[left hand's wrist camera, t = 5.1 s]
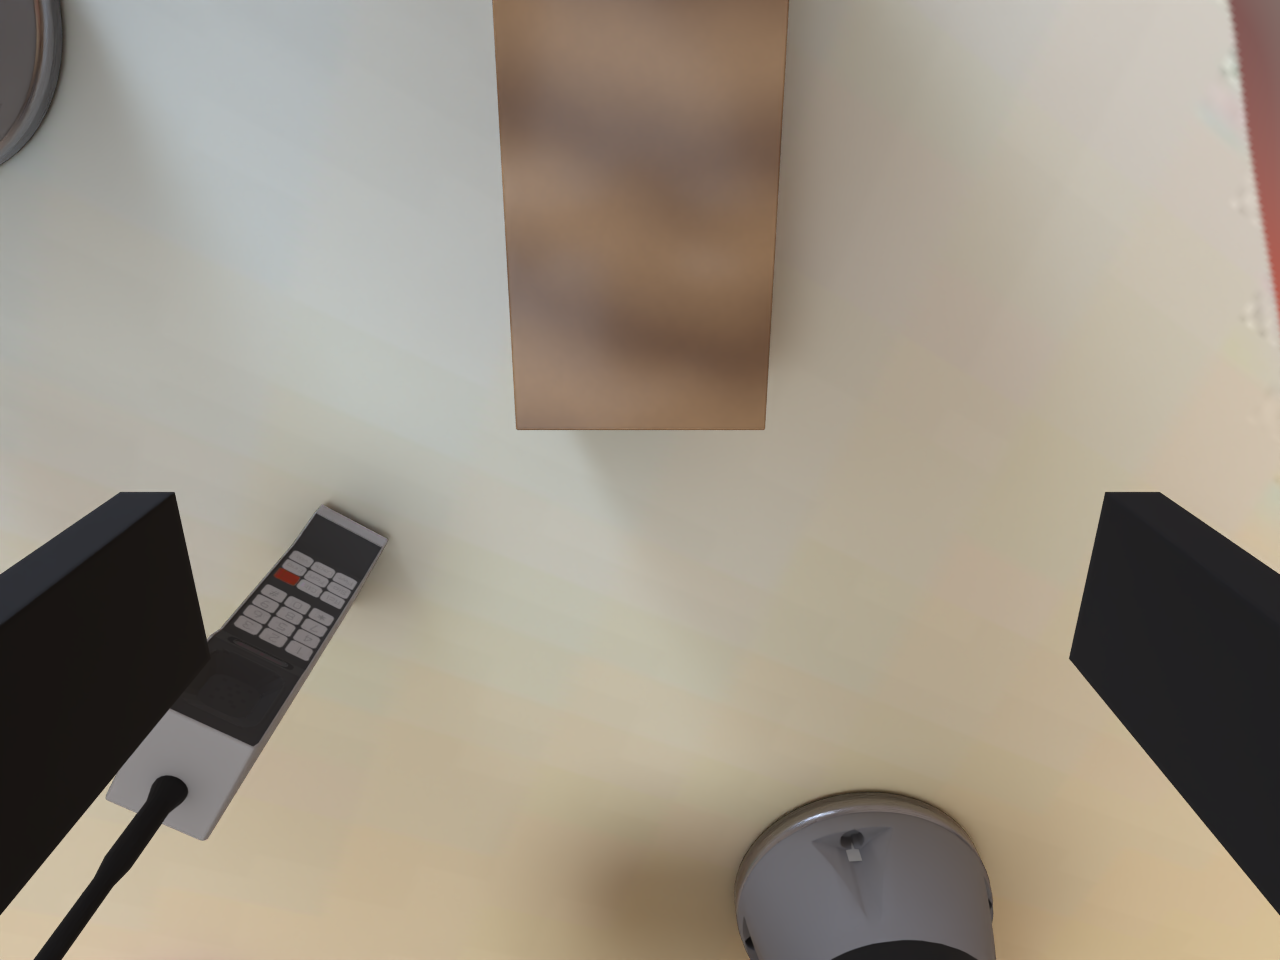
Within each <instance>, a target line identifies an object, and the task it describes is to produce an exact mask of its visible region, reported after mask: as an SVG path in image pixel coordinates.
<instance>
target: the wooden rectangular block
mask: <svg viewBox="0 0 1280 960" xmlns="http://www.w3.org/2000/svg"><path fill="white" fill-rule="evenodd" d="M492 3H493V21H494V39H495V57H496V75H497V93H498V111H499V129H500V147H501V165H502V183H503V201H504V219H505V237H506V255H507V273H508V291H509V309H510V327H511V345H512V363H513V381H514V399H515V417H516V429H517V430H764V429H765V420H766V402H767V384H768V366H769V348H770V331H771V313H772V295H773V277H774V259H775V242H776V224H777V206H778V188H779V170H780V153H781V135H782V117H783V99H784V81H785V64H786V46H787V28H788V10H789V0H492Z"/></svg>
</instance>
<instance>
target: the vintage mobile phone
mask: <svg viewBox="0 0 1280 960" xmlns="http://www.w3.org/2000/svg"><path fill="white" fill-rule="evenodd" d="M387 542H388V539H387V538H385V537H383V536H381V535H379V534H377V533H376V532H374V531H372V530H370V529H368V528H366V527H364V526H362V525H360V524H358V523H357V522H355V521H353V520H351V519H349V518H347V517H345V516H343V515H341V514H339V513H338V512H336V511H334V510H332V509H330V508H328V507H326V506H324V505H321V506H320V507H319V508H318V509H317V511H316V512H315V513H314V514H313V516H312V517H311V519H310V520H309V521H308V523H307V524H306V526H305V527H304V529H303V530H302V531H301V533H300V534H299V536H298V537H297V539H296V540H295V541H294V543H293V544H292V545H291V547H290V548H289V549H288V550H287V551H286V552H285V554H284V555H283V556H282V557H281V558H280V559H279V561H278V562H277V563H276V564H275V565H274V566H273V568H272V569H271V570H270V571H269V572H268V573H267V575H266V576H265V577H264V578H263V579H262V580H261V582H260V583H259V584H258V585H257V586H256V587H255V589H254V590H253V591H252V592H251V593H250V594H249V596H248V597H247V598H246V599H245V600H244V601H243V603H242V604H241V605H240V606H239V607H238V608H237V610H236V611H235V612H234V613H233V614H232V615H231V617H230V618H229V619H228V620H227V621H226V622H225V624H224V625H223V626H222V627H221V628H220V629H219V630H217V631H216V632H214V633H213V634H212V635H211V636H210V637H209V638H208V639H207V643H208V648H209V652H210V657H211V659H210V660H209V661H208V663H207V664H206V665H205V666H204V668H203V669H202V670H201V671H200V672H199V674H198V675H197V676H196V677H195V679H194V680H193V681H192V682H191V683H190V685H189V686H188V687H187V688H186V689H185V691H184V692H183V693H182V694H181V696H180V697H179V698H178V699H177V700H176V702H175V703H174V704H173V705H172V707H171V708H170V709H169V710H168V711H167V713H166V714H165V715H164V716H163V718H162V719H161V720H160V721H159V722H158V724H157V725H156V726H155V727H154V728H153V730H152V731H151V732H150V733H149V735H148V736H147V737H146V738H145V739H144V741H143V742H142V743H141V744H140V746H139V747H138V748H137V749H136V750H135V752H134V753H133V754H132V755H131V756H130V758H129V759H128V760H127V761H126V763H125V764H124V765H123V766H122V767H121V769H120V770H119V771H118V772H117V774H116V776H115V778H114V780H113V782H112V784H111V786H110V788H109V790H108V792H107V794H106V800H108V801H110V802H113V803H115V804H117V805H120V806H122V807H124V808H127V809H129V810H131V811H134V812H136V813H137V814H136V816H135V817H134V818H133V820H132V821H131V822H130V824H129V825H128V826H127V828H126V829H125V830H124V832H123V833H122V834H121V836H120V837H119V838H118V840H117V841H116V842H115V844H114V845H113V846H112V848H111V849H110V850H109V852H108V853H107V854H106V856H105V857H104V859H103V861H102V863H101V865H100V867H99V869H98V871H97V873H96V875H95V877H94V879H93V880H92V881H91V883H90V884H89V885H88V887H87V888H86V889H85V891H84V892H83V893H82V895H81V896H80V898H79V899H78V900H77V902H76V903H75V904H74V906H73V907H72V908H71V910H70V911H69V912H68V914H67V915H66V916H65V918H64V919H63V921H62V922H61V923H60V925H59V926H58V927H57V929H56V930H55V931H54V933H53V934H52V935H51V937H50V938H49V939H48V941H47V942H46V944H45V945H44V946H43V948H42V949H41V950H40V952H39V953H38V954H37V956H36V957H35V958H34V960H62V958H63V957H64V955H65V954H66V953H67V951H68V950H69V948H70V947H71V946H72V944H73V943H74V941H75V940H76V938H77V937H78V936H79V934H80V933H81V931H82V930H83V928H84V927H85V926H86V924H87V923H88V921H89V920H90V919H91V917H92V916H93V914H94V913H95V911H96V910H97V909H98V907H99V906H100V904H101V903H102V902H103V900H104V899H105V897H106V896H107V894H108V893H109V892H110V890H111V889H112V887H113V886H114V885H115V884H116V883H117V882H118V881H119V880H120V879H121V878H122V877H123V876H124V875H125V874H126V873H127V872H128V871H129V870H130V868H131V867H132V866H133V864H134V863H135V861H136V860H137V859H138V857H139V856H140V854H141V853H142V851H143V850H144V849H145V847H146V846H147V844H148V843H149V841H150V840H151V838H152V837H153V836H154V834H155V833H156V831H157V830H158V828H159V827H160V826H161V824H164V825H166V826H168V827H171V828H173V829H175V830H178V831H180V832H182V833H185V834H187V835H189V836H192V837H194V838H196V839H199V840H202V841H203V840H206V839H208V837H209V836H210V834H211V833H212V831H213V829H214V828H215V826H216V824H217V823H218V821H219V820H220V818H221V816H222V815H223V813H224V812H225V810H226V808H227V807H228V805H229V803H230V802H231V800H232V799H233V797H234V795H235V794H236V792H237V790H238V789H239V787H240V786H241V784H242V782H243V781H244V779H245V778H246V776H247V774H248V773H249V771H250V769H251V768H252V766H253V765H254V763H255V761H256V760H257V758H258V756H259V755H260V753H261V752H262V750H263V748H264V747H265V745H266V744H267V742H268V740H269V739H270V737H271V735H272V734H273V732H274V731H275V729H276V727H277V726H278V724H279V722H280V721H281V719H282V718H283V716H284V714H285V713H286V711H287V710H288V708H289V706H290V705H291V703H292V701H293V700H294V698H295V697H296V695H297V693H298V692H299V690H300V688H301V687H302V685H303V684H304V682H305V680H306V679H307V677H308V676H309V674H310V672H311V671H312V669H313V667H314V666H315V664H316V663H317V661H318V659H319V658H320V656H321V654H322V653H323V651H324V650H325V648H326V646H327V645H328V643H329V642H330V640H331V638H332V637H333V635H334V633H335V632H336V630H337V629H338V627H339V625H340V624H341V622H342V620H343V619H344V617H345V616H346V614H347V612H348V611H349V609H350V607H351V605H352V604H353V602H354V600H355V598H356V597H357V595H358V593H359V591H360V590H361V588H362V586H363V584H364V583H365V581H366V579H367V577H368V575H369V574H370V572H371V570H372V568H373V567H374V565H375V563H376V561H377V560H378V558H379V556H380V554H381V553H382V551H383V549H384V547H385V545H386V544H387Z"/></svg>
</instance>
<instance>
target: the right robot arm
mask: <svg viewBox="0 0 1280 960" xmlns="http://www.w3.org/2000/svg"><path fill="white" fill-rule="evenodd" d="M61 53H62V21H61V12H60V3H59V0H0V165H1V164H2V163H4V162H5V161H7V160H8V159H9V158H10V157H12V156H13V155H14V154H15V153H17V152H18V151H19V150H20V149H21V148H22V147H23V146H24V145H25V144H26V142H27V141H28V140H29V139H30V138H31V136H32V135H33V134H34V132H35V131H36V130H37V128H38V127H39V125H40V123H41V121H42V120H43V118H44V116H45V114H46V112H47V110H48V108H49V105H50V103H51V100H52V98H53V95H54V91H55V88H56V84H57V81H58V76H59V70H60V64H61Z"/></svg>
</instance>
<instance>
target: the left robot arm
mask: <svg viewBox="0 0 1280 960" xmlns="http://www.w3.org/2000/svg"><path fill="white" fill-rule="evenodd" d="M210 659H211V657H210V652H209V648H208V643H207V638H206V634H205V629H204V625H203V620H202V616H201V611H200V606H199V602H198V597H197V593H196V588H195V583H194V579H193V574H192V570H191V565H190V560H189V556H188V551H187V547H186V542H185V537H184V533H183V528H182V524H181V519H180V514H179V510H178V505H177V501H176V496H175V492H120V493H118V494H117V495H115V496H114V497H113V498H111V499H110V500H108V501H107V502H105V503H104V504H102V505H101V506H99V507H98V508H96V509H95V510H94V511H92V512H91V513H89V514H88V515H86V516H85V517H83V518H82V519H80V520H79V521H78V522H76V523H75V524H73V525H72V526H70V527H69V528H67V529H66V530H64V531H63V532H61V533H60V534H59V535H57V536H56V537H54V538H53V539H51V540H50V541H48V542H47V543H45V544H44V545H43V546H41V547H40V548H38V549H37V550H35V551H34V552H32V553H31V554H29V555H28V556H26V557H25V558H24V559H22V560H21V561H19V562H18V563H16V564H15V565H13V566H12V567H10V568H9V569H8V570H6V571H5V572H3V573H2V574H0V915H1V914H2V912H3V911H4V910H5V909H6V908H7V906H8V905H9V904H10V903H11V901H12V900H13V899H14V898H15V897H16V895H17V894H18V893H19V892H20V891H21V889H22V888H23V887H24V886H25V884H26V883H27V882H28V881H29V880H30V878H31V877H32V876H33V875H34V873H35V872H36V871H37V870H38V869H39V867H40V866H41V865H42V864H43V863H44V861H45V860H46V859H47V858H48V856H49V855H50V854H51V853H52V852H53V850H54V849H55V848H56V847H57V845H58V844H59V843H60V842H61V841H62V839H63V838H64V837H65V836H66V834H67V833H68V832H69V831H70V830H71V828H72V827H73V826H74V825H75V824H76V822H77V821H78V820H79V819H80V817H81V816H82V815H83V814H84V813H85V811H86V810H87V809H88V808H89V806H90V805H91V804H92V803H93V802H94V800H95V799H96V798H97V797H98V795H99V794H100V793H101V792H102V791H103V789H104V788H105V787H106V786H107V785H108V783H109V782H110V781H111V780H112V778H113V777H114V776H115V775H116V774H117V772H118V771H119V770H120V769H121V767H122V766H123V765H124V764H125V763H126V761H127V760H128V759H129V758H130V756H131V755H132V754H133V753H134V752H135V750H136V749H137V748H138V747H139V746H140V744H141V743H142V742H143V741H144V739H145V738H146V737H147V736H148V735H149V733H150V732H151V731H152V730H153V728H154V727H155V726H156V725H157V724H158V722H159V721H160V720H161V719H162V718H163V716H164V715H165V714H166V713H167V711H168V710H169V709H170V708H171V707H172V705H173V704H174V703H175V702H176V700H177V699H178V698H179V697H180V696H181V694H182V693H183V692H184V691H185V689H186V688H187V687H188V686H189V685H190V683H191V682H192V681H193V680H194V679H195V677H196V676H197V675H198V674H199V672H200V671H201V670H202V669H203V668H204V666H205V665H206V664H207V663H208V661H209V660H210ZM1069 659H1070V660H1071V661H1072V663H1073V664H1074V665H1075V666H1076V668H1077V669H1078V670H1079V671H1080V672H1081V674H1082V675H1083V676H1084V677H1085V679H1086V680H1087V681H1088V682H1089V683H1090V685H1091V686H1092V687H1093V688H1094V689H1095V691H1096V692H1097V693H1098V694H1099V696H1100V697H1101V698H1102V699H1103V700H1104V702H1105V703H1106V704H1107V705H1108V707H1109V708H1110V709H1111V710H1112V711H1113V713H1114V714H1115V715H1116V716H1117V718H1118V719H1119V720H1120V721H1121V722H1122V724H1123V725H1124V726H1125V727H1126V728H1127V730H1128V731H1129V732H1130V733H1131V735H1132V736H1133V737H1134V738H1135V739H1136V741H1137V742H1138V743H1139V744H1140V746H1141V747H1142V748H1143V749H1144V750H1145V752H1146V753H1147V754H1148V755H1149V756H1150V758H1151V759H1152V760H1153V761H1154V763H1155V764H1156V765H1157V766H1158V767H1159V769H1160V770H1161V771H1162V772H1163V774H1164V775H1165V776H1166V777H1167V778H1168V780H1169V781H1170V782H1171V783H1172V785H1173V786H1174V787H1175V788H1176V789H1177V791H1178V792H1179V793H1180V794H1181V795H1182V797H1183V798H1184V799H1185V800H1186V802H1187V803H1188V804H1189V805H1190V806H1191V808H1192V809H1193V810H1194V811H1195V813H1196V814H1197V815H1198V816H1199V817H1200V819H1201V820H1202V821H1203V822H1204V824H1205V825H1206V826H1207V827H1208V828H1209V830H1210V831H1211V832H1212V833H1213V834H1214V836H1215V837H1216V838H1217V839H1218V841H1219V842H1220V843H1221V844H1222V845H1223V847H1224V848H1225V849H1226V850H1227V852H1228V853H1229V854H1230V855H1231V856H1232V858H1233V859H1234V860H1235V861H1236V863H1237V864H1238V865H1239V866H1240V867H1241V869H1242V870H1243V871H1244V872H1245V873H1246V875H1247V876H1248V877H1249V878H1250V880H1251V881H1252V882H1253V883H1254V884H1255V886H1256V887H1257V888H1258V889H1259V891H1260V892H1261V893H1262V894H1263V895H1264V897H1265V898H1266V899H1267V900H1268V901H1269V903H1270V904H1271V905H1272V906H1273V908H1274V909H1275V910H1276V911H1277V912H1278V914H1279V915H1280V574H1278V573H1277V572H1275V571H1274V570H1272V569H1271V568H1270V567H1268V566H1267V565H1265V564H1264V563H1262V562H1261V561H1259V560H1258V559H1256V558H1255V557H1254V556H1252V555H1251V554H1249V553H1248V552H1246V551H1245V550H1243V549H1242V548H1240V547H1239V546H1237V545H1236V544H1235V543H1233V542H1232V541H1230V540H1229V539H1227V538H1226V537H1224V536H1223V535H1221V534H1220V533H1219V532H1217V531H1216V530H1214V529H1213V528H1211V527H1210V526H1208V525H1207V524H1205V523H1204V522H1202V521H1201V520H1200V519H1198V518H1197V517H1195V516H1194V515H1192V514H1191V513H1189V512H1188V511H1186V510H1185V509H1184V508H1182V507H1181V506H1179V505H1178V504H1176V503H1175V502H1173V501H1172V500H1170V499H1169V498H1167V497H1166V496H1165V495H1163V494H1162V493H1160V492H1105V496H1104V501H1103V505H1102V510H1101V514H1100V519H1099V524H1098V528H1097V533H1096V537H1095V542H1094V547H1093V551H1092V556H1091V560H1090V565H1089V570H1088V574H1087V579H1086V583H1085V588H1084V593H1083V597H1082V602H1081V606H1080V611H1079V616H1078V620H1077V625H1076V629H1075V634H1074V638H1073V643H1072V648H1071V652H1070V657H1069ZM734 897H735V908H736V916H737V923H738V929H739V933H740V936H741V939H742V941H743V944H744V947H745V950H746V952H747V954H748V956H749V958H750V960H996V955H995V946H994V936H993V929H992V920H993V899H992V892H991V887H990V882H989V878H988V875H987V872H986V869H985V867H984V865H983V863H982V861H981V859H980V857H979V854H978V852H977V850H976V848H975V846H974V844H973V842H972V841H971V839H970V837H969V836H968V834H967V833H966V832H965V831H964V830H963V828H962V827H961V826H960V825H959V824H958V823H956V822H955V821H954V820H953V819H952V818H951V817H949V816H948V815H947V814H945V813H943V812H942V811H940V810H938V809H937V808H935V807H933V806H931V805H929V804H927V803H924V802H921V801H918V800H916V799H912V798H909V797H905V796H900V795H895V794H887V793H867V792H866V793H852V794H844V795H838V796H834V797H829V798H825V799H822V800H819V801H816V802H813V803H810V804H808V805H805V806H803V807H801V808H799V809H797V810H795V811H793V812H791V813H789V814H787V815H786V816H784V817H782V818H781V819H780V820H778V821H777V822H775V823H774V824H773V825H771V826H770V827H769V828H768V829H767V830H766V831H764V832H763V833H762V834H761V836H760V837H759V838H758V839H757V840H756V841H755V842H754V843H753V845H752V846H751V847H750V849H749V850H748V852H747V853H746V855H745V857H744V859H743V861H742V863H741V865H740V868H739V870H738V873H737V877H736V882H735V891H734Z"/></svg>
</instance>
